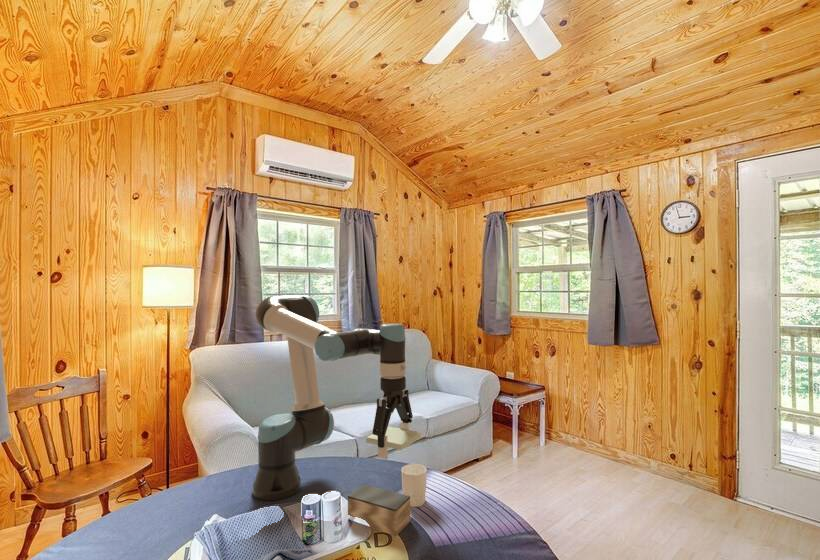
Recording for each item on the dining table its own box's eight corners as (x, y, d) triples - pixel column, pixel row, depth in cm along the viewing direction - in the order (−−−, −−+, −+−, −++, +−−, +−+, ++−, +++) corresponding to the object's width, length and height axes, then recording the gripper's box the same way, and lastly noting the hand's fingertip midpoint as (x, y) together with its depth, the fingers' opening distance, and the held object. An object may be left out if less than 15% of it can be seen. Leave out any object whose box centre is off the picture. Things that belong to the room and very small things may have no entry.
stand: (347, 520, 119) (347, 495, 119) (363, 507, 126) (363, 484, 126) (396, 536, 111) (396, 509, 111) (410, 521, 118) (410, 496, 118)
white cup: (427, 495, 132) (427, 464, 132) (426, 508, 124) (425, 475, 125) (403, 494, 133) (402, 463, 133) (400, 507, 125) (399, 474, 125)
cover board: (366, 442, 121) (366, 437, 121) (387, 430, 130) (387, 426, 130) (401, 450, 115) (401, 444, 115) (420, 437, 124) (420, 432, 124)
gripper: (381, 385, 111) (382, 468, 111) (422, 370, 131) (424, 440, 131) (358, 383, 115) (359, 462, 114) (402, 368, 135) (403, 436, 135)
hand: (394, 450), depth 123 cm, fingers closed on cover board, 11 cm apart
